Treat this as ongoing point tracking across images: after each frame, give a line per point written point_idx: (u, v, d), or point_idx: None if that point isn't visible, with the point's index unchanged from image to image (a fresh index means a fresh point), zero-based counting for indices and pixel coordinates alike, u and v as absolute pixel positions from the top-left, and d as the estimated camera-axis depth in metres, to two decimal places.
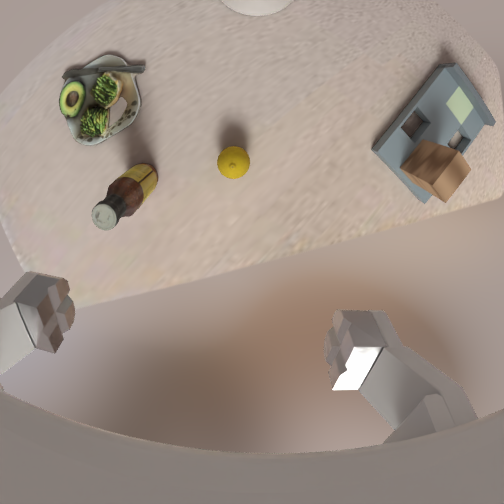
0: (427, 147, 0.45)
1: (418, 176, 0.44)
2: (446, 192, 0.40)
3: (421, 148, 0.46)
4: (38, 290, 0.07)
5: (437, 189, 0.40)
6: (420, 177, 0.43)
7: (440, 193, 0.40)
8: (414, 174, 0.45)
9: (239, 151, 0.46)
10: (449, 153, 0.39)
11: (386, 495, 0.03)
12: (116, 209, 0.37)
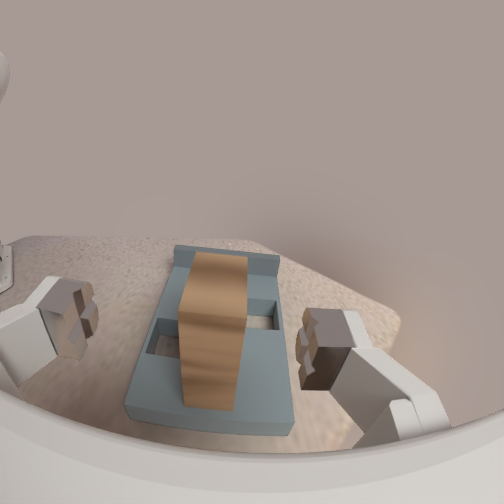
0: None
1: None
2: (227, 303, 0.20)
3: None
4: (62, 295, 0.07)
5: (198, 310, 0.19)
6: None
7: (213, 312, 0.19)
8: None
9: None
10: None
11: (386, 495, 0.03)
12: None
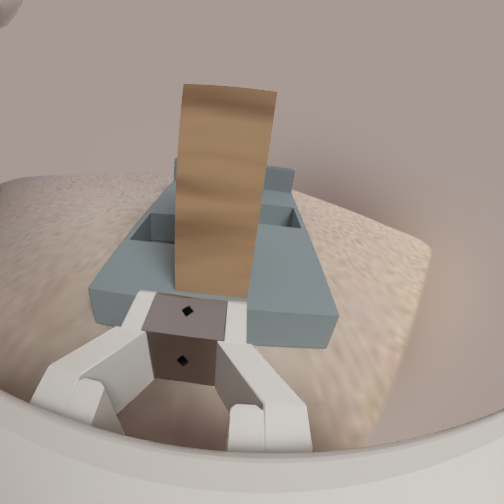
0: None
1: None
2: None
3: None
4: (170, 313, 0.07)
5: None
6: None
7: (232, 87, 0.13)
8: None
9: None
10: None
11: (386, 495, 0.03)
12: None
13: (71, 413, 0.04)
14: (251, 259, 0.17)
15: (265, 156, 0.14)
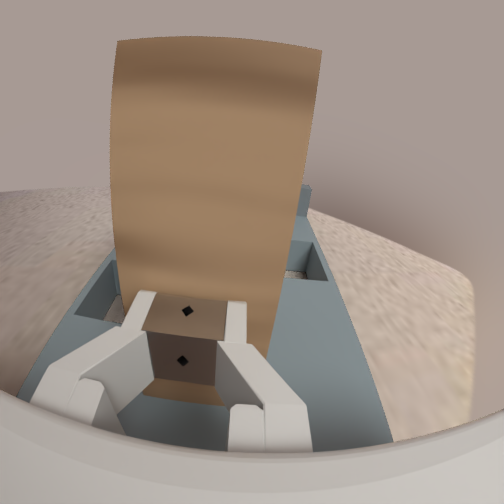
0: None
1: None
2: None
3: None
4: (170, 314, 0.07)
5: None
6: None
7: None
8: None
9: None
10: None
11: (386, 495, 0.03)
12: None
13: (71, 413, 0.04)
14: None
15: (295, 191, 0.07)
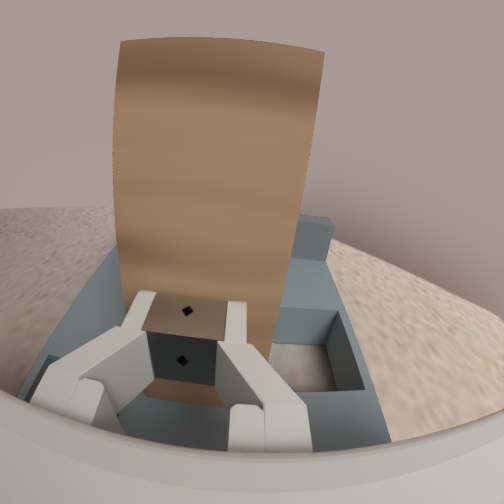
0: None
1: None
2: None
3: None
4: (170, 313, 0.07)
5: None
6: None
7: None
8: None
9: None
10: None
11: (386, 495, 0.03)
12: None
13: (71, 413, 0.04)
14: None
15: (297, 192, 0.07)
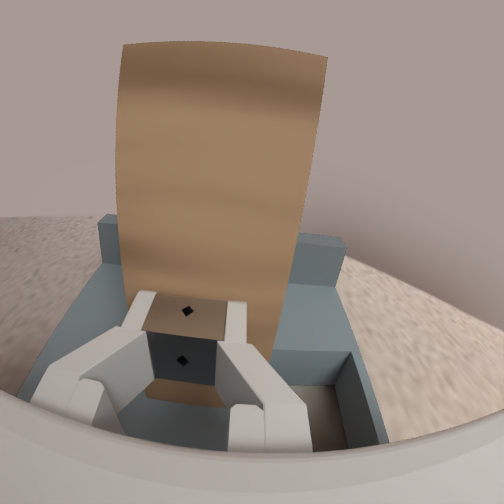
0: None
1: None
2: None
3: None
4: (170, 313, 0.07)
5: None
6: None
7: None
8: None
9: None
10: None
11: (386, 495, 0.03)
12: None
13: (71, 413, 0.04)
14: None
15: (300, 197, 0.07)
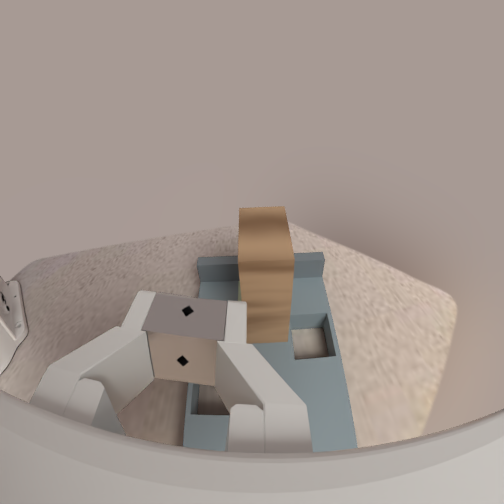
0: None
1: None
2: (277, 249, 0.25)
3: None
4: (170, 313, 0.07)
5: (254, 258, 0.24)
6: None
7: (267, 258, 0.24)
8: None
9: None
10: None
11: (386, 495, 0.03)
12: None
13: (71, 413, 0.04)
14: (288, 327, 0.29)
15: (291, 287, 0.26)
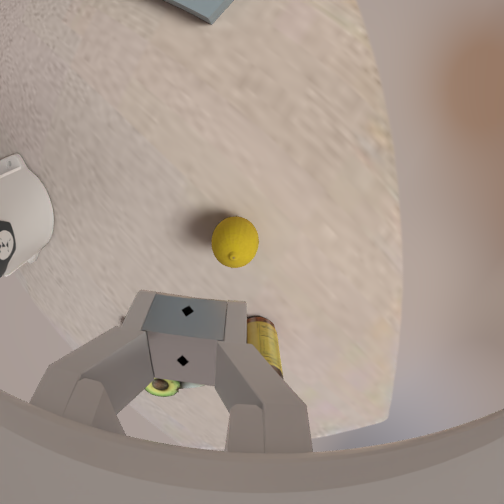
0: None
1: None
2: None
3: None
4: (170, 314, 0.07)
5: None
6: None
7: None
8: None
9: (214, 240, 0.33)
10: None
11: (386, 495, 0.03)
12: None
13: (71, 413, 0.04)
14: None
15: None
